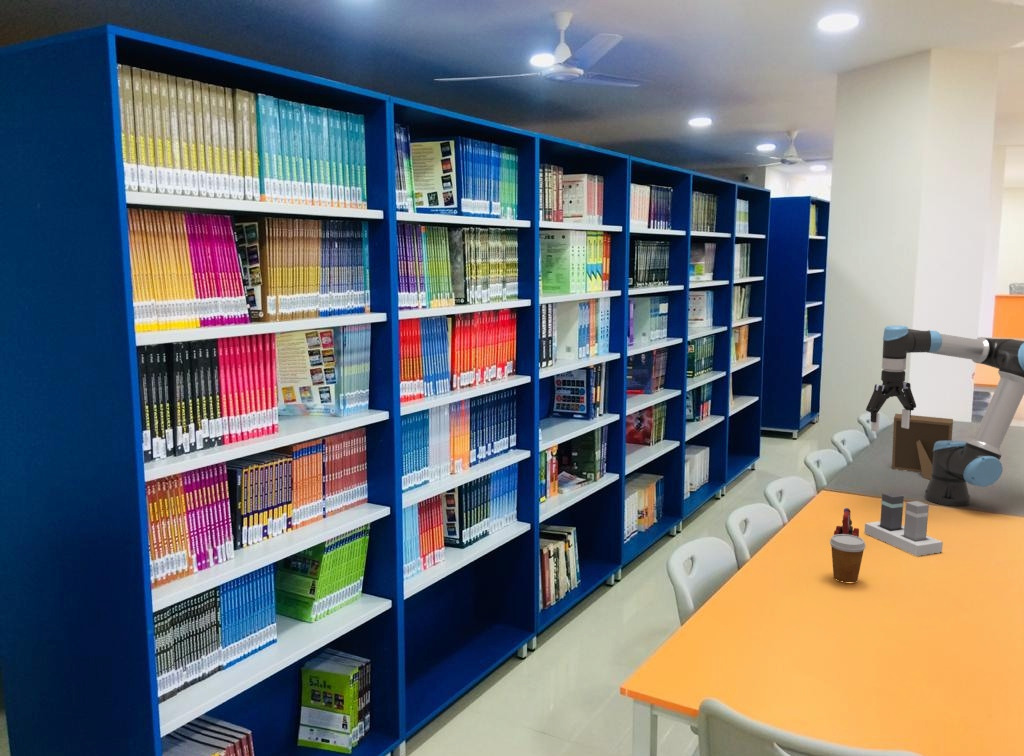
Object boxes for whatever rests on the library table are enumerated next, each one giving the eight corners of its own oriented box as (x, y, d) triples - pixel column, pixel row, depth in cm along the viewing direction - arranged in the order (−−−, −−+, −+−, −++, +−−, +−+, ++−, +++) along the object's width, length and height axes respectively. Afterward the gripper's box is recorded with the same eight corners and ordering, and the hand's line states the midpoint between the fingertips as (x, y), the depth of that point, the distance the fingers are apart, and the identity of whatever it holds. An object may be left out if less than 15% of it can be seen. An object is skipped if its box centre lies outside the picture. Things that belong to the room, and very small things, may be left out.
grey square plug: (914, 542, 252) (917, 500, 250) (925, 547, 248) (929, 505, 246) (902, 544, 251) (905, 502, 249) (914, 549, 246) (917, 506, 244)
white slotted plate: (888, 529, 266) (888, 520, 265) (941, 552, 245) (942, 542, 245) (864, 533, 263) (865, 523, 262) (916, 556, 242) (917, 545, 242)
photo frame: (893, 466, 346) (897, 411, 342) (949, 473, 334) (954, 416, 330) (888, 475, 333) (892, 417, 329) (946, 482, 322) (951, 423, 318)
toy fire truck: (859, 537, 259) (861, 506, 258) (855, 549, 249) (857, 517, 247) (836, 533, 263) (838, 503, 261) (832, 545, 252) (834, 514, 250)
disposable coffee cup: (847, 588, 219) (850, 547, 217) (820, 576, 227) (822, 536, 226) (870, 582, 223) (873, 541, 222) (843, 570, 232) (845, 531, 230)
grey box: (890, 532, 261) (893, 492, 259) (901, 537, 257) (904, 496, 255) (879, 534, 260) (882, 493, 258) (889, 538, 256) (892, 497, 254)
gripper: (912, 366, 281) (908, 424, 284) (856, 370, 273) (853, 430, 276) (929, 369, 274) (926, 428, 277) (873, 373, 266) (870, 434, 269)
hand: (890, 429), depth 277 cm, fingers open, 13 cm apart
